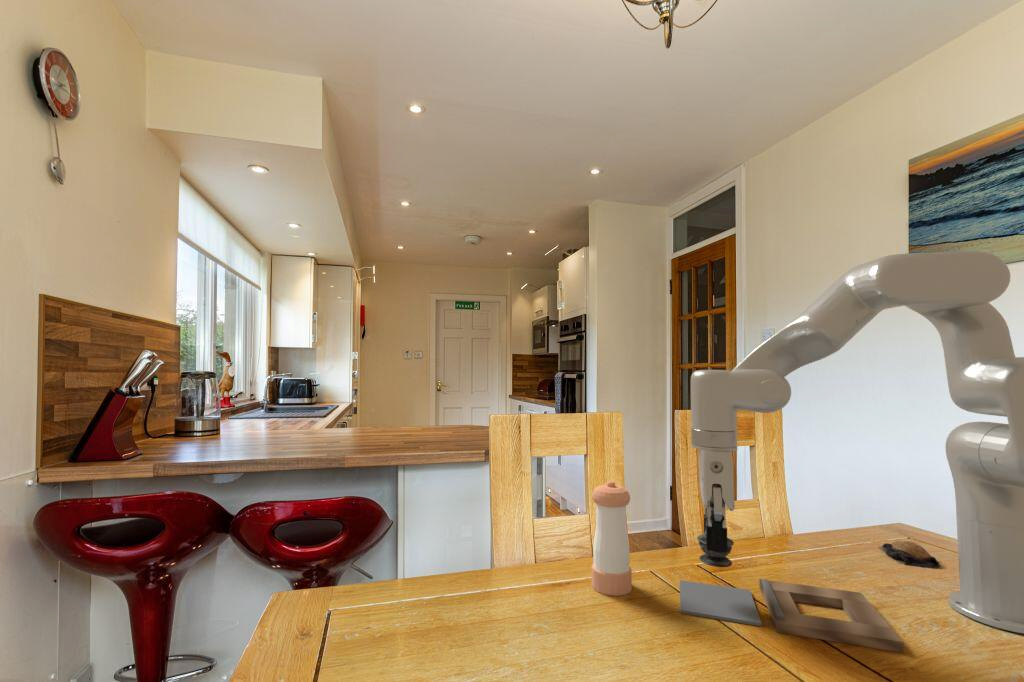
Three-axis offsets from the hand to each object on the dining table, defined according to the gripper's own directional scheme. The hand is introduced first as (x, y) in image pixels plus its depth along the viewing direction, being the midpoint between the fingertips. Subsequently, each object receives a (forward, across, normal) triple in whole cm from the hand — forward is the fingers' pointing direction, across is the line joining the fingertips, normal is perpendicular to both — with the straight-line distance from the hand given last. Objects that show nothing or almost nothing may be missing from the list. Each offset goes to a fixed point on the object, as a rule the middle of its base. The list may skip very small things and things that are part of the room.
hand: (715, 543), depth 83 cm
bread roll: (+11, +36, -41) cm, 56 cm away
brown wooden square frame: (+10, +1, -16) cm, 19 cm away
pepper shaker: (+10, 0, +18) cm, 21 cm away
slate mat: (+10, 0, 0) cm, 10 cm away
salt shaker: (+3, 0, 0) cm, 3 cm away
